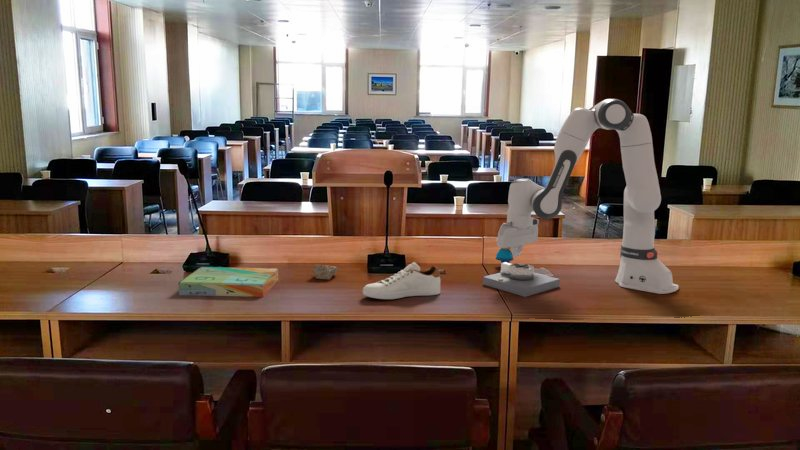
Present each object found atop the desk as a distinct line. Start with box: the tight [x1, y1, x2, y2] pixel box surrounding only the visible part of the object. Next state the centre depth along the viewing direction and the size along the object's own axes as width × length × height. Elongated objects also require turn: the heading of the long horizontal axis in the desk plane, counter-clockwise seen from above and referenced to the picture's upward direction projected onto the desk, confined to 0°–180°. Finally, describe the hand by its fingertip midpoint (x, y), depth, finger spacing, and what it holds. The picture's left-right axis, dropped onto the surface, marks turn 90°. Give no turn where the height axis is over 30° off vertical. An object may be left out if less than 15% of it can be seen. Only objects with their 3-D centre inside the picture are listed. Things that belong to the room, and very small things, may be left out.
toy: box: [495, 238, 514, 264], centre depth 261 cm, size 8×9×15 cm
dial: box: [500, 262, 535, 280], centre depth 236 cm, size 14×9×4 cm, turn 40°
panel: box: [482, 270, 561, 298], centre depth 235 cm, size 20×20×4 cm
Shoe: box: [362, 261, 441, 300], centre depth 221 cm, size 10×29×12 cm, turn 111°
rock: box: [312, 264, 339, 281], centre depth 244 cm, size 10×8×8 cm
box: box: [178, 266, 279, 298], centre depth 231 cm, size 22×5×30 cm
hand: (516, 256), depth 243 cm, fingers closed
